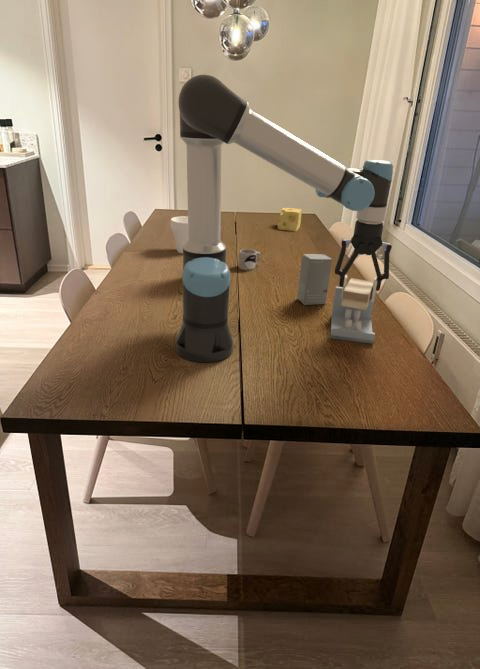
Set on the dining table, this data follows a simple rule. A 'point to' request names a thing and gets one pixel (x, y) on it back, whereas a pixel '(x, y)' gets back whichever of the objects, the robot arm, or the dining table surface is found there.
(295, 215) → the cheese
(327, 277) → the skincare box
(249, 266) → the mug
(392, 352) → the dining table surface
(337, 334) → the cradle
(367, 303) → the slab
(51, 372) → the dining table surface
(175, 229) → the cup
